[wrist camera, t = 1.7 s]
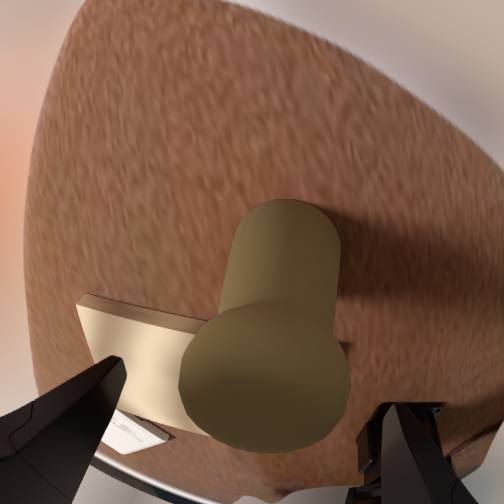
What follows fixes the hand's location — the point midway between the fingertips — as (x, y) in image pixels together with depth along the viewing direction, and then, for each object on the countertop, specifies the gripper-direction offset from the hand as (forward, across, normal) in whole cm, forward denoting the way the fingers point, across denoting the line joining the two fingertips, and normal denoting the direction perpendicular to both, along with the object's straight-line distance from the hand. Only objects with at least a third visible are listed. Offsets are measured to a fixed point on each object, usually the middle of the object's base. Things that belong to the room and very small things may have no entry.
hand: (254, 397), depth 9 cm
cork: (+10, 0, 0) cm, 10 cm away
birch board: (+10, +5, +12) cm, 16 cm away
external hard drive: (+10, +16, +26) cm, 32 cm away
